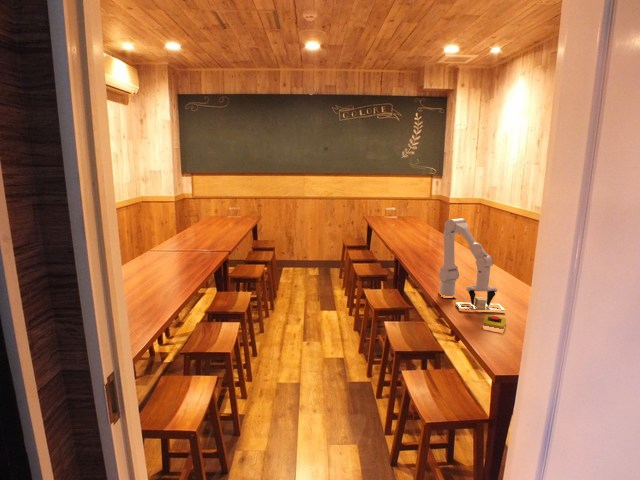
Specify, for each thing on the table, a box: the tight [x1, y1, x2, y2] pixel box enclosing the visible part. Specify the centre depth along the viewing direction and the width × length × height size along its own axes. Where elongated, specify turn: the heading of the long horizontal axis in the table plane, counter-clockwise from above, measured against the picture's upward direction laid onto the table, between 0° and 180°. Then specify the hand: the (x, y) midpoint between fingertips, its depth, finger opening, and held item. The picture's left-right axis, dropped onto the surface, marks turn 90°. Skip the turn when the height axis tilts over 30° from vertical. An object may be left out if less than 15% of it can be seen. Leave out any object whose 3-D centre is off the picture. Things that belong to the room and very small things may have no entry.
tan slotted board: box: [455, 301, 506, 312], centre depth 201 cm, size 8×22×2 cm, turn 86°
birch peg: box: [474, 296, 487, 308], centre depth 201 cm, size 4×4×6 cm
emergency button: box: [482, 314, 507, 329], centre depth 182 cm, size 9×4×15 cm
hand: (480, 304), depth 201 cm, fingers open, 7 cm apart
